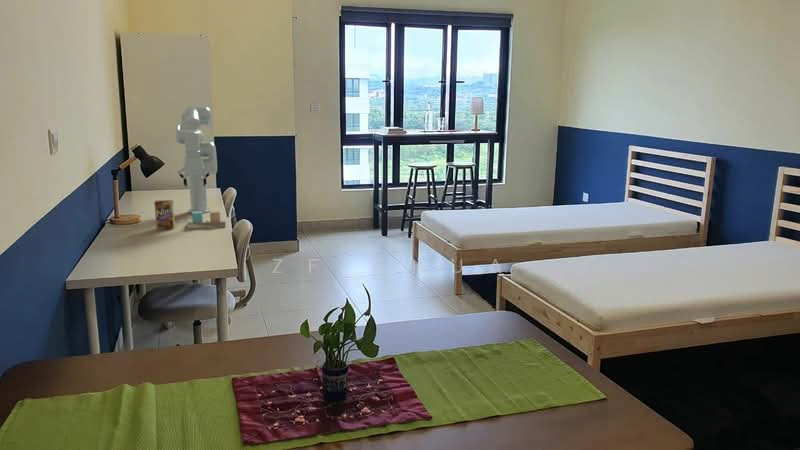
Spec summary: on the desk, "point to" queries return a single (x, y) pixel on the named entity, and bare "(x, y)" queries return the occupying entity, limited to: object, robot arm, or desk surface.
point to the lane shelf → (206, 224)
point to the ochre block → (215, 216)
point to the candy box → (164, 214)
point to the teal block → (197, 217)
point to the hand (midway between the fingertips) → (195, 185)
